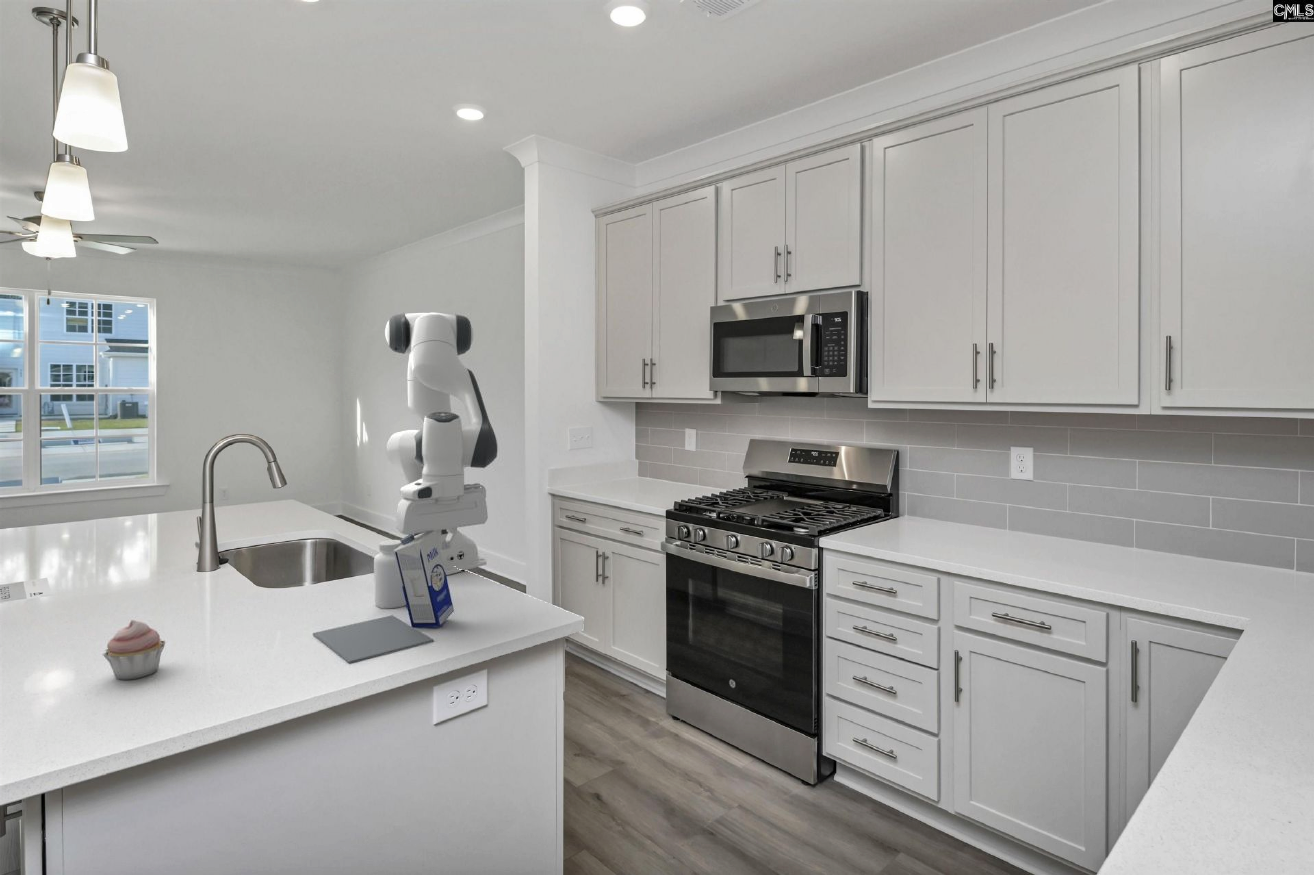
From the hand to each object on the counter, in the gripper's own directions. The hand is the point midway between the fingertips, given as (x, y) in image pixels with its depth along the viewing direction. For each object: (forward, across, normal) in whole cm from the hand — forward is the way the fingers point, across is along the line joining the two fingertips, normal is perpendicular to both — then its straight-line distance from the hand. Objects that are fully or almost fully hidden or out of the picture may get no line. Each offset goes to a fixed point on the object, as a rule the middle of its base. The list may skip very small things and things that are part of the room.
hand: (444, 548), depth 158 cm
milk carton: (+15, +3, 0) cm, 16 cm away
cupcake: (+17, +54, -11) cm, 58 cm away
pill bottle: (+16, +4, -19) cm, 26 cm away
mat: (+16, +16, 0) cm, 23 cm away
